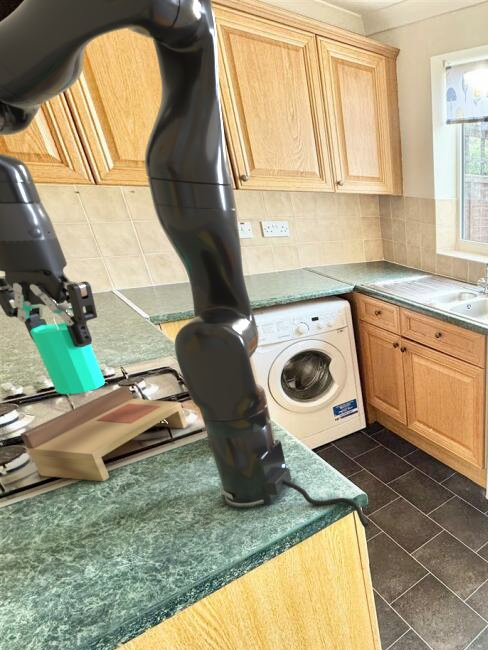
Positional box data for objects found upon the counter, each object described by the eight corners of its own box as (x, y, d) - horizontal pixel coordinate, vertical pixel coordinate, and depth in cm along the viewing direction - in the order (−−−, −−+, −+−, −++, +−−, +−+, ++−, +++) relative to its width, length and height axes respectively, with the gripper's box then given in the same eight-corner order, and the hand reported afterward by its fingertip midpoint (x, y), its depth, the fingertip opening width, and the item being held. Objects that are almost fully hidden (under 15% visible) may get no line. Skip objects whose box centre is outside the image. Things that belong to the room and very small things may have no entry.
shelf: (187, 425, 94) (176, 390, 91) (103, 481, 76) (85, 439, 72) (136, 421, 95) (123, 385, 91) (41, 475, 77) (19, 433, 73)
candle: (108, 386, 71) (83, 318, 66) (59, 397, 67) (28, 325, 62) (101, 376, 75) (75, 310, 70) (53, 386, 70) (22, 317, 65)
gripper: (92, 236, 64) (127, 340, 71) (1, 229, 64) (45, 333, 71) (39, 241, 57) (84, 355, 64) (-62, 234, 58) (-7, 348, 65)
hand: (63, 343), depth 68 cm, fingers closed on candle, 6 cm apart
